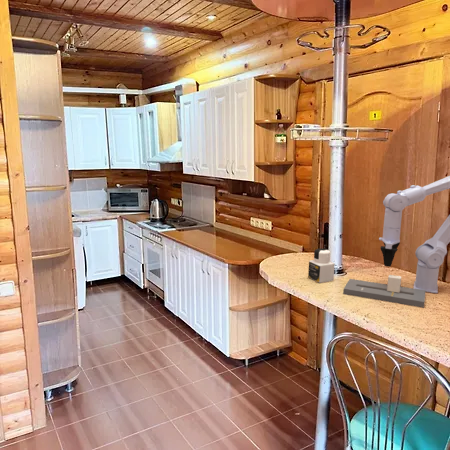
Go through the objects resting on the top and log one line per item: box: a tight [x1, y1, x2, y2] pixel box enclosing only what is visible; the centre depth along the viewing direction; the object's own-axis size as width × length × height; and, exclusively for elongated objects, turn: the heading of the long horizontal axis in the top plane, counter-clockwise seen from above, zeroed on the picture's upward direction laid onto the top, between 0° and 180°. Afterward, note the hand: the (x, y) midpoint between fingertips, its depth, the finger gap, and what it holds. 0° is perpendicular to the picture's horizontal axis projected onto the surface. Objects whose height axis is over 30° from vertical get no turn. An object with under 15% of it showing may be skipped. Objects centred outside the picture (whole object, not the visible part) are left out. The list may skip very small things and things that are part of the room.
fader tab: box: [387, 274, 402, 293], centre depth 144 cm, size 3×4×5 cm
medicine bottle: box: [307, 248, 335, 284], centre depth 161 cm, size 7×7×12 cm
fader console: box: [342, 278, 426, 309], centre depth 146 cm, size 12×26×2 cm, turn 63°
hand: (388, 263), depth 151 cm, fingers open, 7 cm apart
